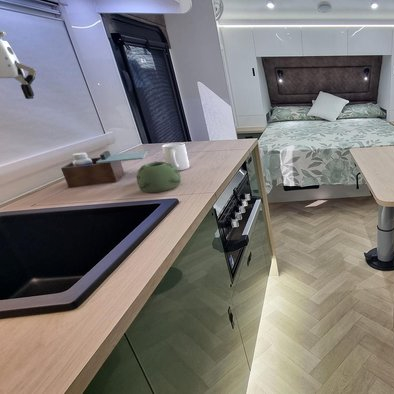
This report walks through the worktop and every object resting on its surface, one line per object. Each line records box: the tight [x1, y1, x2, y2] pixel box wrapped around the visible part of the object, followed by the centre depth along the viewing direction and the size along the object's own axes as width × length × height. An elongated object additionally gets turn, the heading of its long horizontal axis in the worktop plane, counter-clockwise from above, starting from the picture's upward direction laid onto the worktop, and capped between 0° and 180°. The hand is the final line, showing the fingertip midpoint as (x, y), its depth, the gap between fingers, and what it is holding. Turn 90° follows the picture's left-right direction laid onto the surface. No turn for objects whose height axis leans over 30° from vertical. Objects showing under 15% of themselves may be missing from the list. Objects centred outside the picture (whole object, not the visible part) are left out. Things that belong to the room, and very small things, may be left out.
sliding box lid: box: [96, 150, 149, 164], centre depth 112 cm, size 14×13×2 cm
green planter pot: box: [136, 160, 182, 193], centre depth 102 cm, size 16×13×9 cm
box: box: [60, 156, 125, 189], centre depth 110 cm, size 14×13×7 cm
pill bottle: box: [71, 152, 93, 166], centre depth 108 cm, size 6×5×10 cm
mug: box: [161, 142, 191, 172], centre depth 120 cm, size 12×8×10 cm
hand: (8, 99), depth 87 cm, fingers open, 9 cm apart
